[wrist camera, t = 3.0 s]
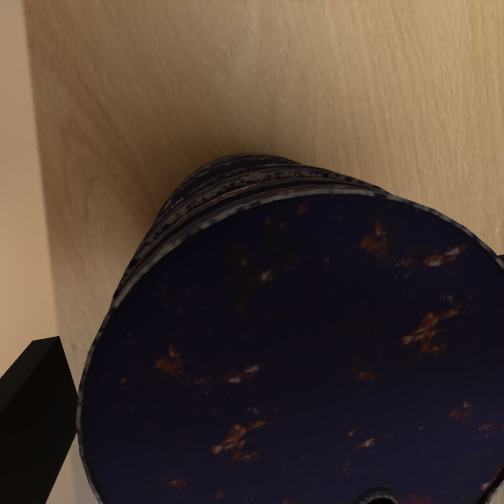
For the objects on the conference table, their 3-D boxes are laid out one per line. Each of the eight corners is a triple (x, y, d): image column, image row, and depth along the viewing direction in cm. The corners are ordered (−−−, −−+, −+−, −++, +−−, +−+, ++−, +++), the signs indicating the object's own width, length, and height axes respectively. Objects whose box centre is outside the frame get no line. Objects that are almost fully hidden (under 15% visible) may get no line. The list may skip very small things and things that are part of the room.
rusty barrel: (118, 213, 22) (-49, 364, 7) (281, 113, 21) (440, 67, 7) (219, 356, 25) (239, 665, 10) (364, 270, 24) (599, 468, 10)
